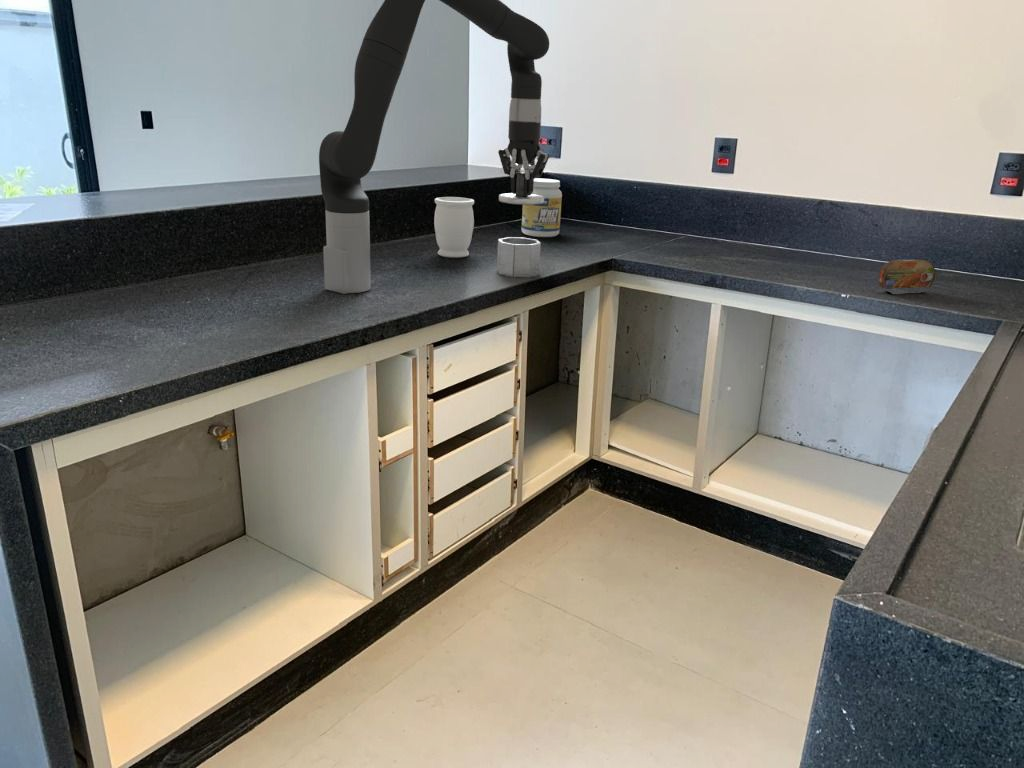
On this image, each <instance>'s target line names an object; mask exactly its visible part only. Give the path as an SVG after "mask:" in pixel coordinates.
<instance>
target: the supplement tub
mask: <svg viewBox="0 0 1024 768" xmlns="http://www.w3.org/2000/svg"><path fill="white" fill-rule="evenodd" d="M560 187H561V181H560V180H558V179H552V178H541V177H537V178H535V179H534V184H533V193H532V194H536V195H541V196H544V203H542V204H534V205H522V213H521V215H522V216H521V217H522V218H521V232H522V233H523V234H524V235H527V236H530V237H537V238H553V237H556V236H558V235H559V234H560V228H561V213H562V201H563V199H562V197H563V193H562V191H561V190H560V189H559V188H560Z"/></svg>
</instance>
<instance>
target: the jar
mask: <svg viewBox="0 0 1024 768" xmlns="http://www.w3.org/2000/svg"><path fill="white" fill-rule="evenodd" d="M434 203H435V204H436V205H435V206H436V207H435V210H434V219H433V220H434V221H433V225H434V232H435V239H436V244H437V246H438V247H439V250H438V251H437V254H438V255H439V256H441V257H445V258H452V259H453V258H455V259H456V258H457V259H458V258H459V259H460V258H466V257H468V256H469V255H470V253H469V250H468V249H469V247H470V245H471V242H472V236H473V233H474V226H475V219H474V216H475V215H474V209H473V205H474V204H475V200H474V199H473V198H468V197H460V196H441V197H436V198H434Z"/></svg>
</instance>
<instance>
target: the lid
mask: <svg viewBox="0 0 1024 768" xmlns="http://www.w3.org/2000/svg"><path fill="white" fill-rule="evenodd" d="M525 180H526V178H525V171H523V172H521V171H520V172H517V173H516V194H513V193H512V192H508V193H501V194H499V195H498V202H501V203H504V204H509V205H510V204H511V205H522V206H523V205H534V204H542V203H544V196H541V195H536V194H531V195H528V196H527V195H524V185H525Z"/></svg>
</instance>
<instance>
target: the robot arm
mask: <svg viewBox="0 0 1024 768" xmlns="http://www.w3.org/2000/svg"><path fill="white" fill-rule="evenodd" d="M425 1H426V0H384V1H383V3H382V4H381V6H380V7H379V9H378V10H377V12H376V14H375V15H374V17H373V19H372V20H371V21H370V23H369V26H368V27H367V29H366V31H365V33H364V37H363V38H362V42H361V45H360V48H359V52H358V54H357V56H356V60H355V65H354V76H353V80H354V99H353V104H352V108H351V112H350V115H349V118H348V121H347V123H346V126H345V128H344V130H343V131H341V130H337V131H333V132H330V133H328V134H327V135H326V136H325V137H324V138H323V139H322V141H321V143H320V146H319V150H318V151H319V152H318V165H319V177H320V178H319V179H320V189H321V196H322V198H323V200H324V205H325V208H324V209H325V230H326V231H325V233H326V236H325V237H326V245H324V246H323V249H322V251H323V253H322V254H323V273H324V274H323V276H324V277H323V278H324V289H325V290H327V291H331V292H335V293H339V294H344V295H345V294H355V293H357V294H358V293H364V292H367V291H370V289H371V288H372V287H371V286H372V285H371V237H370V235H371V234H370V199H369V197H368V196H367V194H366V193H365V191H364V189H363V187H362V186H363V185H362V181H361V180H362V178H364V177H366V176H367V175H368V173H369V172H370V171H371V169H372V168H373V166H374V163H375V161H376V156H377V152H378V148H379V144H380V139H381V136H382V131H383V127H384V123H385V119H386V117H387V113H388V111H389V108H390V105H391V102H392V99H393V96H394V92H395V90H396V87H397V84H398V81H399V79H400V76H401V74H402V70H403V68H404V65H405V63H406V59H407V56H408V52H409V49H410V46H411V43H412V40H413V37H414V35H415V31H416V28H417V25H418V21H419V18H420V15H421V11H422V9H423V7H424V4H425ZM438 1H439V2H441V3H443V4H445V5H447V6H448V7H449V8H451V9H453V10H454V11H455V12H457V13H458V14H460V15H461V16H463V17H464V18H465V19H467V20H468V21H470V22H471V23H473V24H474V25H475V26H477V27H478V28H479V29H481V30H482V31H483V32H484V33H486V34H487V35H489V36H490V37H492V38H494V39H496V40H499V41H504V42H506V43H507V46H506V47H507V48H506V49H507V59H508V64H509V65H508V66H509V71H510V76H511V86H510V87H511V88H510V91H511V92H510V103H509V110H508V112H509V114H508V136H507V137H508V139H509V142H508V145H507V147H506V148H504V149H498V152H497V153H498V156H499V160H500V163H501V167H502V169H503V173H504V174H505V175H508V176H509V177H510V191H511V193H513V194H516V173H517V172H521V171H522V168H523V170H524V172H525V178H526V180H525V185H524V195H527V196H528V195H531V194H532V193H533V184H534V179H535V178H541V177H542V175H543V173H544V170H545V168H546V166H547V163H548V161H549V158H550V154H549V153H545V152H543V151H542V150H541V147H540V144H539V143H540V141H541V128H542V126H541V125H542V86H543V85H542V83H543V81H542V76H541V74H540V73H538V72H537V71H536V67H535V61H537V60H540V59H542V58H543V57H545V56H546V55H547V53H548V51H549V49H550V39H549V35H548V33H547V32H546V31H545V30H544V28H543V27H542V26H540V25H539V24H538V23H536V22H534V21H533V20H531V19H529V18H528V17H526V16H524V15H522V14H520V13H517V12H515V10H512V9H511V7H509V6H507V5H506V4H505V3H504V2H503V1H502V0H438Z"/></svg>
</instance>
